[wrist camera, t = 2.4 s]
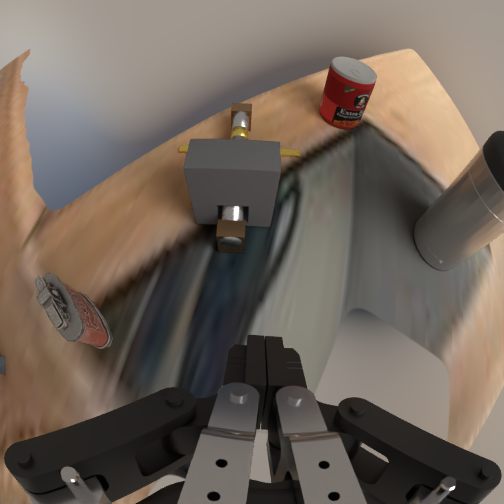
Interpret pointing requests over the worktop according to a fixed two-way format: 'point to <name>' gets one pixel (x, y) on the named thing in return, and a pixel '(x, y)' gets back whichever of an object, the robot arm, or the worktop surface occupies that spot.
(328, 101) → the canned food
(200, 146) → the block
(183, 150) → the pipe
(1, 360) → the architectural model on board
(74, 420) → the worktop surface
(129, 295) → the worktop surface
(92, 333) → the lighter
